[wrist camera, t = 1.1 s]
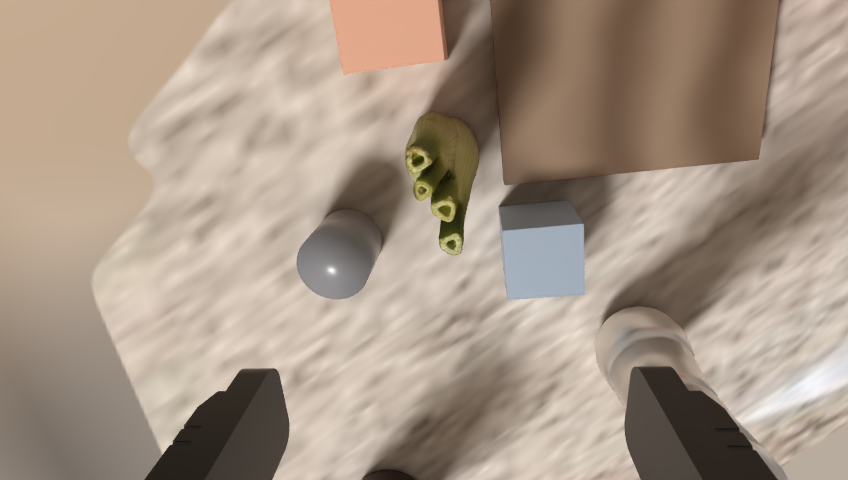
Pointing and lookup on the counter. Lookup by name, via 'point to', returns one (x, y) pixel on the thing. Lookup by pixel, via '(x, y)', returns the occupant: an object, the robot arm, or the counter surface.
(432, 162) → the fennel bulb
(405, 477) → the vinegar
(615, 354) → the plastic bottle
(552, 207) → the smoky blue cube
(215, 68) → the counter surface
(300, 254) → the grey rounded capsule
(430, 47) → the terracotta block
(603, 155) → the walnut board
